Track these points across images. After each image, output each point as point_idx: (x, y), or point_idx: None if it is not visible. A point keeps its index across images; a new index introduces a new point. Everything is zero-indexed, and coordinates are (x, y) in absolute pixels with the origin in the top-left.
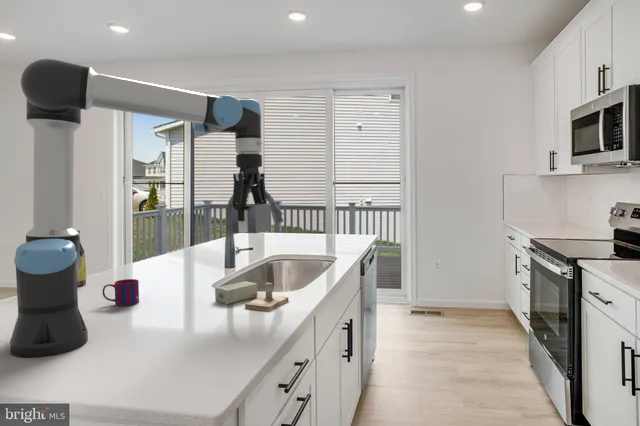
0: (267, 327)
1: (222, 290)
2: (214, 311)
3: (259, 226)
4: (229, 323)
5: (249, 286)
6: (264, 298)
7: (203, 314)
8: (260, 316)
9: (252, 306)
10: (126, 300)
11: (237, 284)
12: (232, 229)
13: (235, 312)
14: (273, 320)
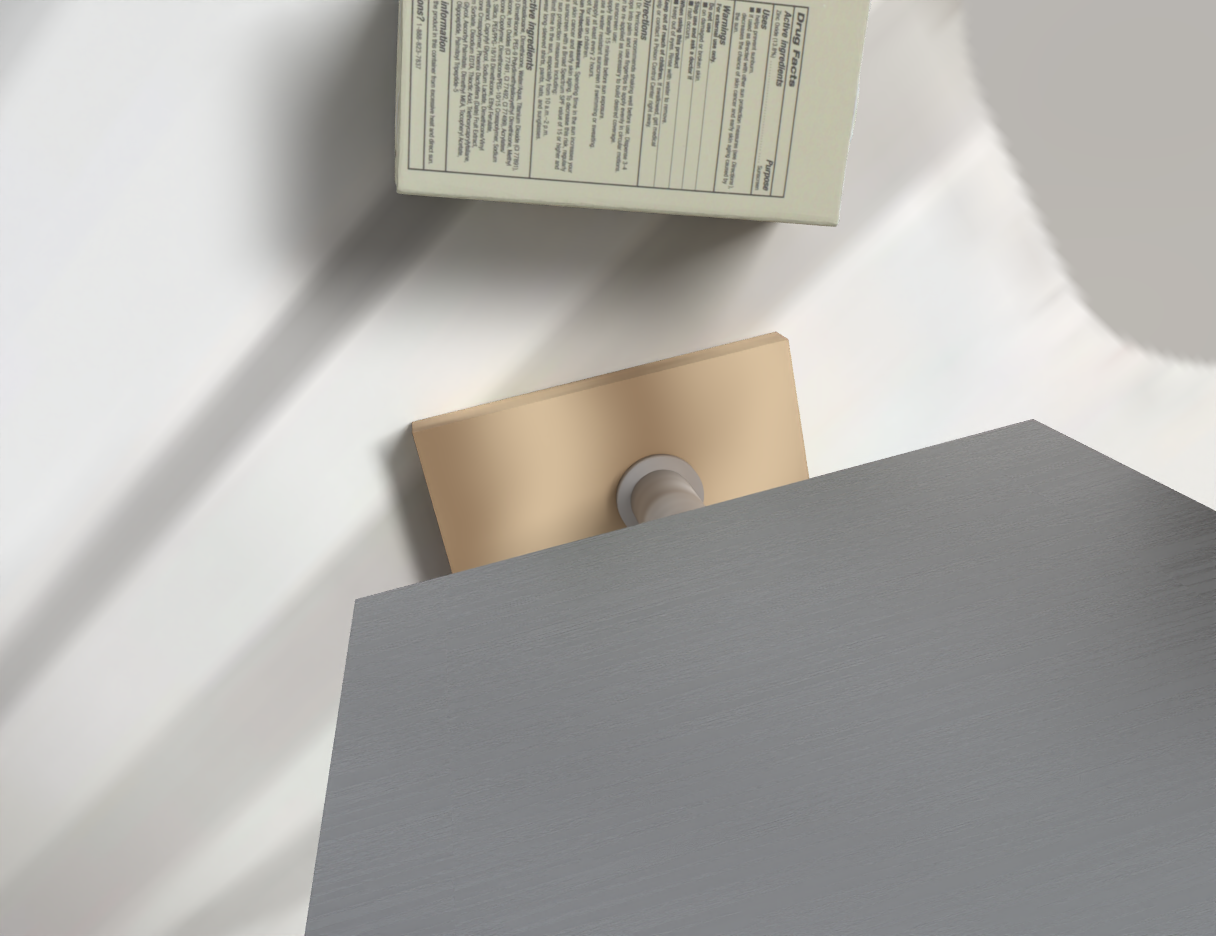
0: (163, 909)
1: (396, 101)
2: (146, 271)
3: None
4: (15, 652)
5: (720, 217)
6: (638, 467)
7: (3, 266)
8: (322, 693)
9: (433, 504)
10: None
11: (680, 61)
12: (350, 648)
13: (262, 454)
14: (313, 829)
